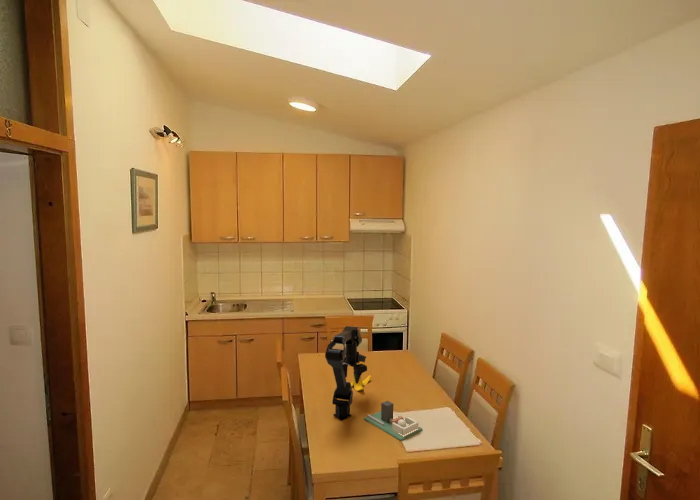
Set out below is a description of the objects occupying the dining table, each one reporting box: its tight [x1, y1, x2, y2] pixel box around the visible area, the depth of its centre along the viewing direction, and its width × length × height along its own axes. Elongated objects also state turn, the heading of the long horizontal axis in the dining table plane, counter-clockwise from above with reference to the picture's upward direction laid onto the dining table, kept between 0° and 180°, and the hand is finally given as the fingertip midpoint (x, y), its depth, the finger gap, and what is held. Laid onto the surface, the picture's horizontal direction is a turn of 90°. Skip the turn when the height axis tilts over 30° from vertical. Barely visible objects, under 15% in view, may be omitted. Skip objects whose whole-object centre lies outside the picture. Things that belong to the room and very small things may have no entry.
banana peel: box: [350, 363, 372, 392], centre depth 236 cm, size 16×19×17 cm
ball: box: [397, 418, 406, 428], centre depth 188 cm, size 4×4×4 cm
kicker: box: [380, 400, 404, 424], centre depth 193 cm, size 6×9×8 cm, turn 39°
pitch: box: [363, 410, 423, 442], centre depth 193 cm, size 14×24×4 cm, turn 39°
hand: (351, 380), depth 213 cm, fingers open, 9 cm apart
